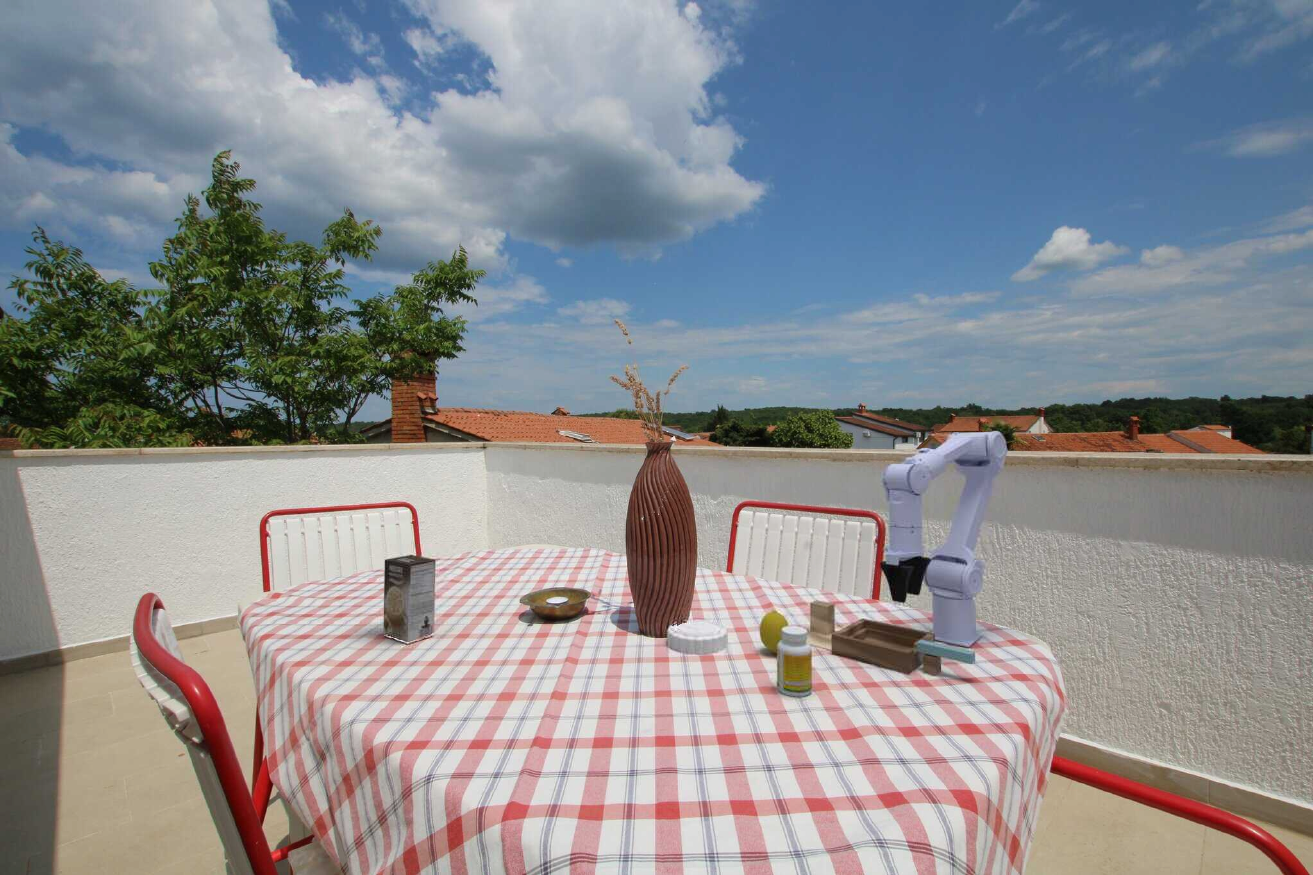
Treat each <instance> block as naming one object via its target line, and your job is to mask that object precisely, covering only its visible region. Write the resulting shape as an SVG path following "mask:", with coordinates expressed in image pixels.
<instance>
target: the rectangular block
mask: <svg viewBox="0 0 1313 875" xmlns="http://www.w3.org/2000/svg"><path fill="white" fill-rule="evenodd" d="M917 652H921V653H925V654H930V655H934V656H938V657H941V659H942V658H943V659H946V660H947V659H948V660H951V661H956V662H958V663H959V662H960V663H963V664H969V665H973V664H974V663H975V662H976V651H974V650H970V649H965V648H961V647H956V646H953V645H948V644H943V643H939V642H936V641H935V642H930V641H926V640H920V641H918V642H917Z"/></svg>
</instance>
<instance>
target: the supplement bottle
mask: <svg viewBox="0 0 1313 875" xmlns="http://www.w3.org/2000/svg"><path fill="white" fill-rule="evenodd" d="M802 627H803V626H802ZM802 627H801V626H796V625H793V626H792V625H789V626H786V627H783V628H782V634H781V636H782V639H783V640H781V641H780V642H779V643H778V645H777V653H776V672H777V673H776V683H777V687H776V688H777V690H778V691H779V692H780V693H782V694H784V695H786V696H790V697H796V698H801V697H802V698H803V697H807V696H809V695H810V694H811V693H812V690H813V689H812V688H813V687H812V685H813V684H812V683H813V676H812V675H813V673H812V672H813V669H812V667H813V666H812V664H813V662H812V660H813V659H812V657H813V655H812V653H813V649H812V646H811V645H809V643H807V642H806V640H807V638H808V637H807V630H806V629H804V628H802Z"/></svg>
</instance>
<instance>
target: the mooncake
mask: <svg viewBox="0 0 1313 875" xmlns="http://www.w3.org/2000/svg"><path fill="white" fill-rule="evenodd" d="M686 621H687V622H686V623H682V624H680V625H678V626H677V624H676V625H674V626H672V625H669V626H668V627H667V628H668V629H667V631H666V638H667V639H666V641H667V642H666V643H667V645H668V648H671V649H672V650H673V651H677V652H678V653H682V654H687V655H696V656H699V655H700V654H701V655H712V654H717V653H719V652H722V650H723V651H724V650H725V649H726V648H725V647H727V648H728V639H729V638H728V629H727V628H726V627H725V626H724V625H721V623H718V622H714V621H710V620H708V619H707V620H706V619H692V620H691V619H690V620H686ZM701 655H700V656H701Z"/></svg>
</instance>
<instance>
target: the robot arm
mask: <svg viewBox="0 0 1313 875" xmlns="http://www.w3.org/2000/svg"><path fill="white" fill-rule="evenodd" d="M1007 454H1008V447H1007V441H1006V439H1005V436H1004V435H1003V434H1002V432H1000V431H998V430H993V431H985V432H984V431H983V432H981V431H979V432H957V431H956V432H953V433H951V434H950V435H948V436H947V437H946V441H945V442H943V443H942V444H941V445H939V446H938V447H936V448H935V449H933V448H928V447H921V448H920V449H918V453H917V454H914V455H913V456H911V457H906V458H905V459H904V461H902V462H901V463H892V464H890V465H889V466H887V467H886V468H885V469H884V470H883V474H882V475H883V476H882V477H881V484H882V487H883V490H884V491H885V498H886V501H887V502H888V518H889V519H888V520H889V521H888V525H889V528H888V529H889V530H888V532H889V536H888V537H889V546H884V547H883V548H882V549H883V550H882V551H883V552H886V553H885V560H882V561H880V562H879V568H880V569H881V571H882V572H883V574H884V576H885V579H886V582H887V584H888V588H889V591H890V592H889V593H890V598H891V600H892V602H897V603H903V604H904V603H906V600H907V596H908V595H913V596H919V595H920V593H921V590H922V585H923V583H924V585H925V586H926V587H927V588H928V592H929V593H931V594H932V595H931V596H932V597H931V598H932V600H931V601H932V631H931V632H929V633H934V634H935V641H938V642H943V643H947V644H953V645H957V646H960V647H961V646H962V647H966V648H970V647H972V645H973V644H975V643H976V642H977V641H978V640H980V638H981V637H982V633H979V632H977V614H976V611H977V610H976V608H977V607H976V603H975V600H974V598H976V597H977V595H978V594H980V592H981V591H982V587H983V584H984V581H983V580H984V578H983V577H984V576H983V575H984V568H985V565H984V564H983V561H982V560H981V559H980V558H979V557H978V555H976V554H975V553H974V551H975V548H976V544H977V541H978V537H979V534H980V532H981V527H982V524H983V522H984V518H985V514H986V512H987V508H988V505H989V501H990V498H991V495H992V492H993V488H994V485H995V481H996V478H997V477H998V476H1000V475H1001V474H1002V470H1003V468H1004V464H1005V461H1006V458H1007ZM950 463H953V464H954V467H955V469H956V471H957V473H958V474H959V475H960V476H961V475H962V476H964V478H965V482H964V485H963V488H962V492H961V494H960V498H959V501H958V503H957V506H956V510H955V513H954V516H953V519H952V523H951V526H950V529H949V532H948V534H947V538H946V541H945V543H944V544H943V545H942V544H941V545H940V546H938V547H936V548H935V549H932V550H931V552H930V556H929V557H927V556H926V557H925V556H924V555H925V546H924V545H923V510H922V508H923V506H922V505H923V504H922V503H923V502H922V501H923V500H922V494H925V493H926V491H927V490H928V487H929V484H930V483H931V482H932V481H934V479H936V478H938V477H939V476H941V475H942V474H943V473H945V471H946V468H947V465H948V464H950Z"/></svg>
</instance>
